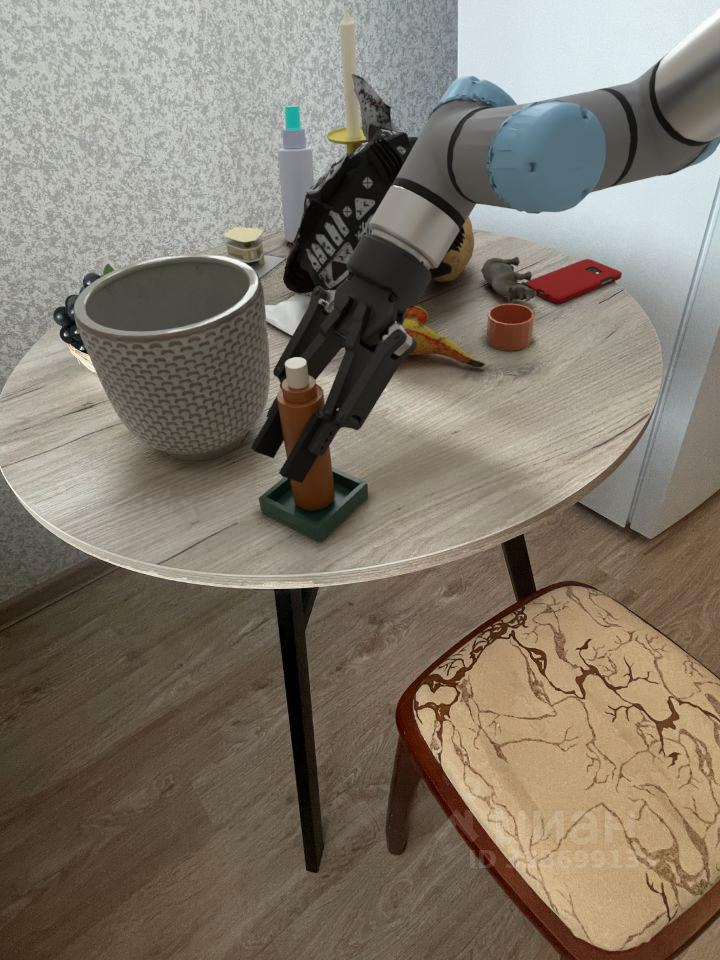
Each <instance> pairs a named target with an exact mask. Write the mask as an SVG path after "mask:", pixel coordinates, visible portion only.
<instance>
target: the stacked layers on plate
mask: <svg viewBox="0 0 720 960" xmlns="http://www.w3.org/2000/svg"><path fill="white" fill-rule="evenodd" d="M262 233H263V229H261V228H257V227H256V228H254V227H238V226H234V227H232V228H231V229H229V230H228V231H226V232H224V233H223V234H222V236H223V237H226V238H228V239H226V240H224V241H223V245H225V246H226V249H227V252H226V253H225V256H226V257H230V258H233V259H237V260H239V261H242V262H244V263H246V264H247V265H249V266H250V267H252V268H253V269H254V270H255V271H256V272H257V274H258V276H259V278H260V279H261V278H262V277H263V276H265V275H266V274H267V273H268V272H270V271H271V270H273V269H274V268H275V267H277V266H278V265H279V264H281V262H283V261H284V260H286V257H281V256H274V255H267V254H265V253H266V248H265V247H263V242H264V241H265V239H264V237H263V236H261V235H262Z"/></svg>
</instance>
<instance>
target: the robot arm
mask: <svg viewBox="0 0 720 960" xmlns="http://www.w3.org/2000/svg"><path fill="white" fill-rule="evenodd" d="M417 138H418V139H417V141H416V143H415V145H414V146H413V148H412V150H411V152H410V154H409V156H408V157H407V159H406V161H405V163H404V165H403V166H402V168H401V170H400V172H399V174H398V175H397V177H396V179H395V181H394V182H393V184H392V186H391V187H390V188H389V190H388V192H387V194H386V195H385V197H384V199H383V200H382V202H381V204H380V205H379V207H378V209H377V210H376V212H375V214H374V216H373V217H372V219H371V221H370V222H369V228H370V230H371V231H372V233H371V234H369V233H367V234H366V235H363V236H362V237H361V239H360V241H359V243H358V244H357V246H356V248H355V250H354V251H353V253H352V255H351V257H350V258H349V260H348V262H347V269H348V271H349V275H348V277H347V279H346V280H345V281H344V282H343V283H342V284H341V285H340V286H339V287H338V288H337V289H336V290H325V289H323V288H322V287H320V286H317V287H315V288H314V290H313V292H311V295H310V297H311V299H310V303H309V306H308V309H307V311H306V312H305V314H304V316H303V318H302V320H301V321H300V323H299V325H298V327H297V329H296V330H295V332H294V334H293V336H292V335H291V338H290V339H289V341H288V343H287V345H286V346H285V348H284V350H283V352H282V353H281V355H280V357H279V359H278V361H277V363H276V365H275V367H274V368H273V373H272V374H273V376H274V377H276V378H277V379H278V381H279V388H280V389H281V388H282V386H281V385H282V382H283V381H284V380H285V379H286V378H287V376H286V369H285V362H286V361H287V360H288V359H290V358H294V357H301V358H304V359H305V360H306V361H307V368H308V375H309V376H312V377H313V378H314V379H315V381H317V379H318V378H319V377H320V375H322V373H323V372H324V370H326V368H327V367H328V366H329V364H330V363H331V362H332V361H333V360H334V358H335V357H336V356H337V355H338V353H340V351H341V349H343V348H344V350H345V351H344V355H343V357H342V360H341V362H340V364H339V367H338V369H337V372H336V375H335V378H334V379H333V383H332V385H331V386H330V387H331V388H330V390H329V393H328V394H327V395H328V396H327V398H326V400H325V405H324V408H323V410H322V412H321V411H318V410H316V415H315V414H313V415H312V417H311V418H310V420H309V422H308V423H307V425H306V427H305V429H304V430H303V432H302V434H301V435H300V437H299V439H298V441H297V442H296V444H295V446H294V447H293V449H292V451H291V453H290V454H289V456H288V458H287V457H286V459H285V461H284V463H283V465H282V466H281V468H280V470H279V472H278V474H279V475H280V476H281V477H282V478H283V477H285V478H288V479H291V480H294V481H297V482H300V483H302V482H303V481H304V479H305V477H306V476H307V474H308V472H309V470H310V469H311V467H312V465H313V464H314V462H315V460H316V459H317V457H318V455H319V456H322V455H323V454H324V453H325V452H326V451H327V449H328V447H329V446H331V444H332V442H333V441H334V439H335V437H336V435H337V434H338V432H339V431H340V430H341V429H342V428H347V429H352V430H354V431H359V430H360V429H362V427H363V425H364V424H365V422H366V420H367V418H368V417H369V416H370V414H371V412H372V411H373V410H374V408H375V406H376V404H377V402H378V401H379V399H380V398H381V396H382V394H383V393H384V391H385V389H386V388H387V386H388V385H389V383H390V381H391V380H392V378H393V376H394V375H395V373H396V372H397V370H398V368H399V367H400V365H401V363H402V362H403V361H404V360H406V359H407V358H408V357H409V356H411V355H410V354H411V353H412V352H413V351H414V350H415V349H416V347H417V342H416V340H414V339H413V338H412V337H410V336H409V335H408V334H407V333H406V331H405V330H404V328H403V327H402V325H403V322H404V316H405V313H406V310H407V309H408V308H413V307H414V306H417V304H418V303H419V301H420V299H421V297H422V296H423V294H424V293H425V291H426V290H427V287H428V286H429V284H430V282H431V281H432V280H433V279H432V278H431V272H430V271H429V269H430V268H431V269H433V268H438V266H439V264H440V263H441V261H442V259H443V258H444V256H445V254H446V253H447V251H448V249H449V248H450V246H451V244H452V243H453V241H454V239H455V238H456V236H457V234H458V233H459V231H460V230H461V228H462V226H463V224H464V223H465V221H466V220H467V218H468V217H470V215H471V213H472V212H473V210H474V208H475V207H476V206H477V205H484V206H490V207H496V208H497V207H498V208H503V209H510V210H516V211H518V212H520V213H521V212H525V213H526V214H533V215H534V214H537V215H538V214H541V213H561V212H566V211H568V210H571V209H573V208H575V207H577V206H578V205H579V204H580V203H581V202H582V201H583V200H584V199H585V198H586V197H587V196H588V195H589V194H591V193H595V192H598V191H602V190H607V189H609V188H614V187H617V186H621V185H625V184H631V183H633V182H639V181H642V180H646V179H651V178H655V177H662V176H670V175H673V174H677V173H678V172H680V171H682V170H685V169H687V168H690V167H692V166H695V165H698V164H700V163H702V162H704V161H706V160H707V159H708V158H709V157H711V156H712V155H713V154H714V153H715V152H716V151H717V148H718V147H719V145H720V7H718V8H717V9H716V10H715V11H714V12H713V13H712V14H711V15H709V16H708V17H707V18H706V19H704V20H703V21H702V23H700V24H699V25H698V26H697V27H696V28H695V29H693V30H692V31H691V32H690V33H688V35H687V36H685V37H684V38H683V39H682V40H681V41H680V42H678V43H677V44H676V45H675V46H674V47H673V48H671V50H670V51H669V52H667V53H666V54H665V55H664V56H662V58H661V59H659V60H658V61H657V62H656V63H654V64H653V65H652V66H651V67H649V68H648V70H646V71H645V72H644V73H642V74H641V75H640V76H638V78H636V79H634V80H632V81H629V82H627V83H622V84H617V85H613V86H608V87H603V88H597V89H594V90H590V91H585V92H580V93H574V94H569V95H564V96H563V95H562V96H559V97H554V98H553V97H552V98H548V99H543V100H539V101H534V102H527V103H521V104H517V101H515V100H514V99H513V97H512V96H511V95H510V94H509V93H508V92H506V91H505V90H504V89H503V88H501V87H500V86H498V85H497V84H495V83H494V82H491V81H490V80H488V79H485V78H484V79H479V78H478V77H477V76H474V75H464V76H463V75H462V76H460V77H458V78H456V79H454V80H453V81H452V82H451V83H450V85H449V86H448V88H447V89H446V91H445V92H444V94H443V95H442V97H441V99H439V101H438V102H437V104H435V105H434V106H433V108H432V110H431V111H430V113H429V116H428V118H427V120H426V123H425V125H424V126H423V128H422V130H421V132H420V133H419V135H418V137H417ZM382 341H383V342H382ZM266 418H267V419H266V420H265V422H264V423H263V425H262V427H261V429H260V430H259V433H258V434H257V435H256V438H255V439H254V441H253V442H252V444H251V446H250V449H251V450H252V451H253V452H254V453H257V454H260V455H263V456H266V457H268V458H271V459H275V458H276V457H275V456H276V455H277V453H278V452H279V450H280V448H281V446H282V445H283V443H284V438H283V432H282V426H281V420H280V414H279V408H278V402H277V396H276V397H275V398H274V400H273V402H272V403H271V406H270V407H269V409H268V411H267V413H266Z"/></svg>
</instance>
